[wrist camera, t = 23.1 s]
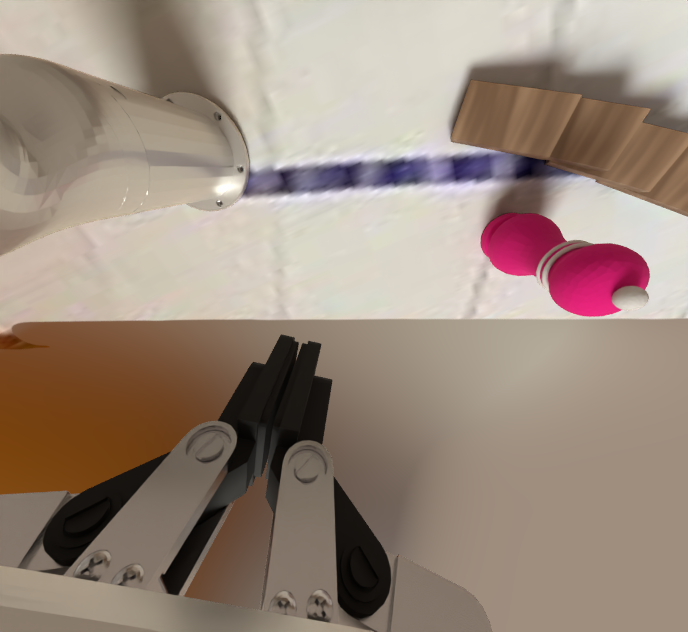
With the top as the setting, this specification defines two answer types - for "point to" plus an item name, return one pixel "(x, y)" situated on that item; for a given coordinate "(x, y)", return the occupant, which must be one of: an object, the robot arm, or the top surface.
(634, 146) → the domino
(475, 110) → the domino
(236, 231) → the top surface
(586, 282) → the pepper mill
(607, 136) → the domino
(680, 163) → the domino
